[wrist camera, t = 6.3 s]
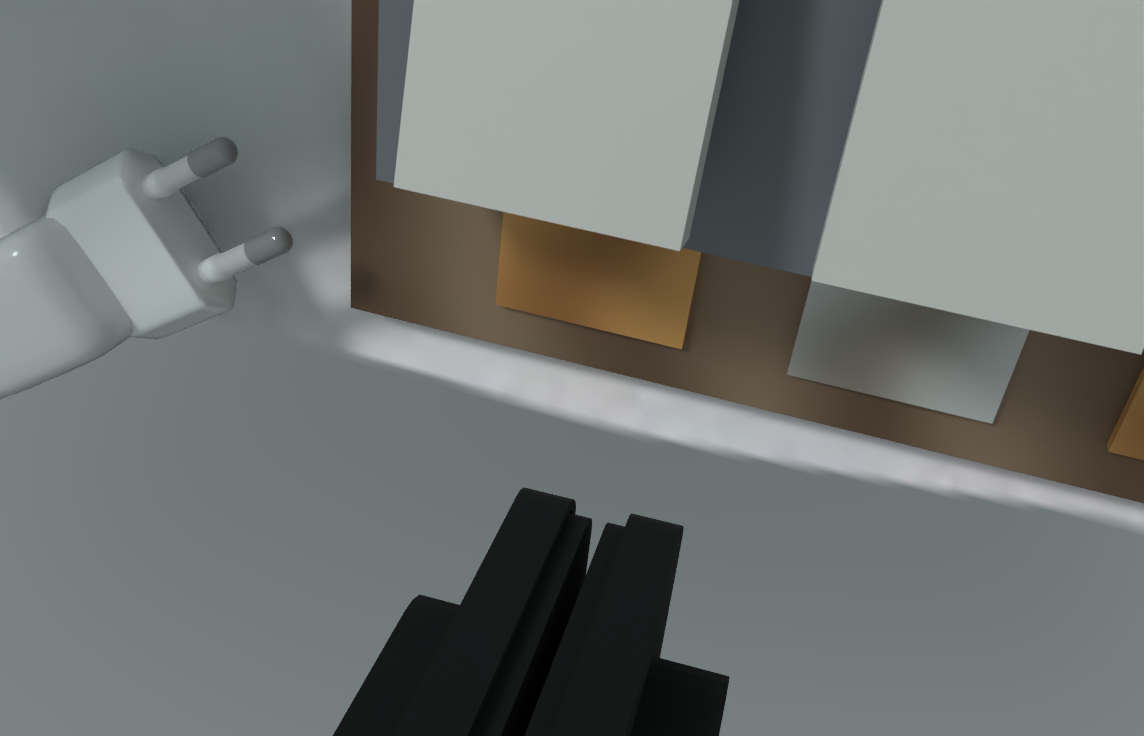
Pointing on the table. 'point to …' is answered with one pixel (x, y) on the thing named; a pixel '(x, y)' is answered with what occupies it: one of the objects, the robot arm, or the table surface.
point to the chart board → (739, 327)
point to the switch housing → (735, 123)
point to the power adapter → (116, 265)
